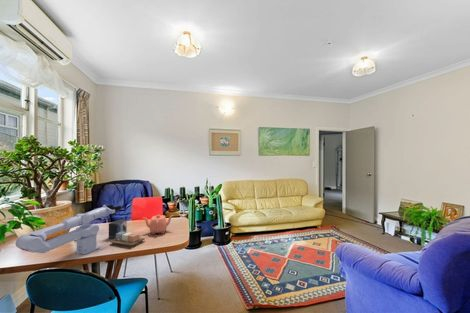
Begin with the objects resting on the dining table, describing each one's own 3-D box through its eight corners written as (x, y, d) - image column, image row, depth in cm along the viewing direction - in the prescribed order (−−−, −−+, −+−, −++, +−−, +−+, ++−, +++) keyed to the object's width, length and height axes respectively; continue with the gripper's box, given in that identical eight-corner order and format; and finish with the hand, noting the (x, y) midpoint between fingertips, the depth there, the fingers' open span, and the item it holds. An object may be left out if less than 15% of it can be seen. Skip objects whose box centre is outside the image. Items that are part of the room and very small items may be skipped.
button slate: (120, 239, 135) (120, 234, 135) (115, 239, 136) (115, 233, 136) (126, 237, 139) (126, 232, 139) (121, 236, 140) (121, 231, 140)
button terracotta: (133, 242, 131) (133, 236, 131) (128, 241, 132) (128, 235, 132) (139, 239, 135) (139, 234, 135) (134, 238, 136) (134, 233, 136)
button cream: (127, 241, 133) (127, 235, 133) (122, 240, 134) (121, 234, 134) (132, 238, 137) (132, 233, 137) (127, 237, 138) (127, 232, 138)
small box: (116, 239, 142) (116, 224, 142) (108, 238, 144) (107, 223, 144) (127, 233, 153) (127, 219, 153) (119, 233, 154) (119, 218, 154)
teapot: (142, 233, 152) (142, 216, 152) (161, 227, 166) (161, 211, 166) (155, 237, 144) (155, 219, 144) (174, 230, 158) (174, 213, 158)
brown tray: (130, 248, 127) (130, 244, 127) (109, 244, 134) (109, 241, 134) (144, 241, 137) (144, 238, 137) (124, 238, 144) (124, 234, 144)
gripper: (105, 208, 129) (124, 201, 141) (89, 206, 134) (108, 200, 147) (106, 219, 129) (125, 211, 142) (90, 217, 135) (109, 210, 147)
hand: (116, 206), depth 144 cm, fingers open, 7 cm apart
